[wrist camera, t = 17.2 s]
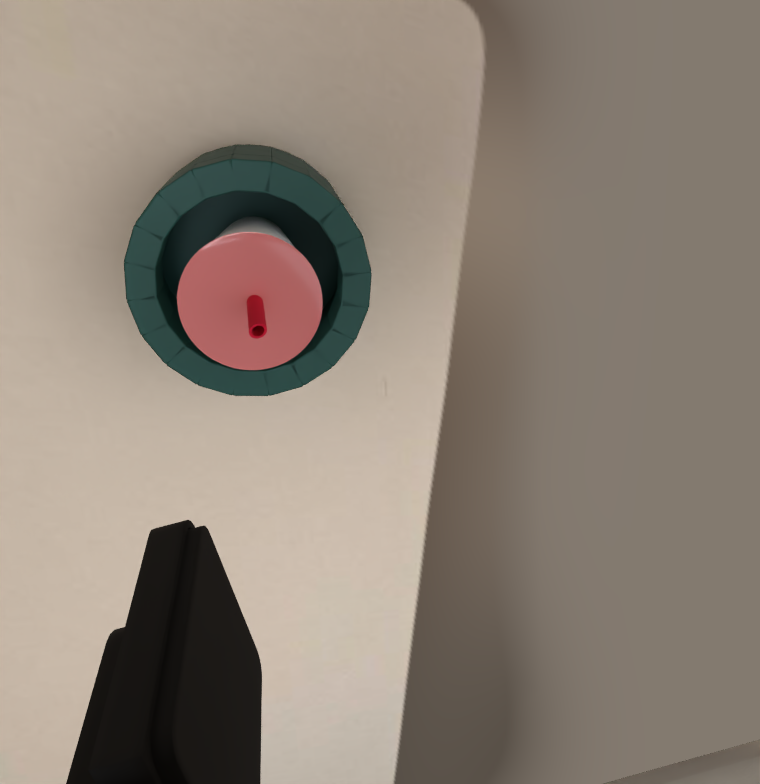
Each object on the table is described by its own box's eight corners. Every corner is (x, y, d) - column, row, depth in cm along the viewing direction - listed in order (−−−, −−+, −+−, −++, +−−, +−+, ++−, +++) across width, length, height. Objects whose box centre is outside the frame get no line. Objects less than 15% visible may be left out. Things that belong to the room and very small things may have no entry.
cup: (330, 267, 35) (358, 350, 24) (241, 324, 36) (230, 430, 25) (269, 173, 33) (270, 218, 22) (175, 234, 33) (131, 308, 23)
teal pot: (119, 175, 33) (83, 198, 26) (322, 120, 33) (335, 130, 27) (192, 363, 37) (176, 422, 30) (372, 313, 37) (394, 361, 31)
